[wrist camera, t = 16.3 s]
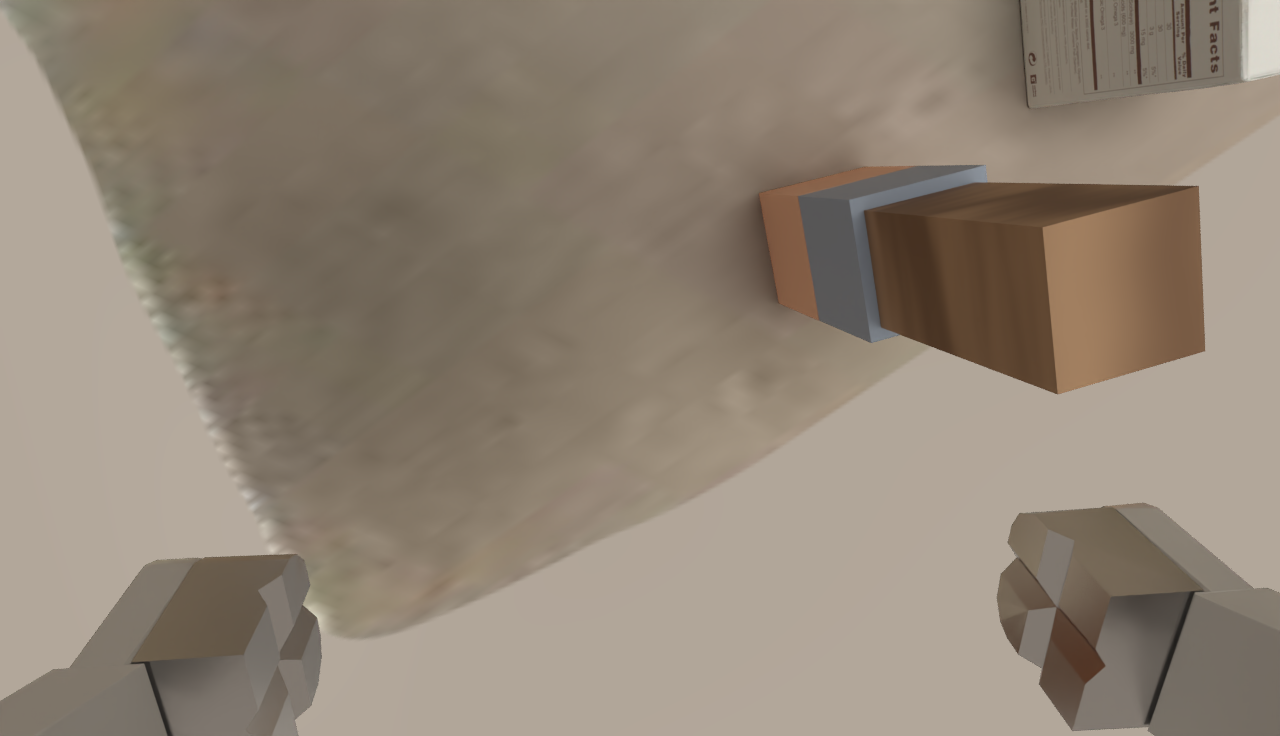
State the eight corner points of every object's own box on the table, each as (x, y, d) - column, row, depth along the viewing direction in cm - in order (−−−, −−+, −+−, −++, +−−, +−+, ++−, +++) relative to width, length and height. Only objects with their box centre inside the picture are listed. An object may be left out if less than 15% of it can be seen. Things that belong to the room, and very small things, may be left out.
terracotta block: (778, 303, 41) (818, 320, 36) (758, 193, 40) (797, 196, 35) (880, 276, 42) (932, 289, 37) (864, 166, 40) (916, 166, 36)
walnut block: (881, 327, 32) (1057, 394, 22) (863, 210, 30) (1042, 227, 21) (987, 298, 32) (1204, 350, 23) (974, 182, 31) (1198, 186, 21)
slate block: (819, 320, 36) (871, 342, 32) (798, 196, 35) (849, 199, 30) (933, 289, 37) (1001, 306, 32) (917, 166, 36) (985, 164, 31)
